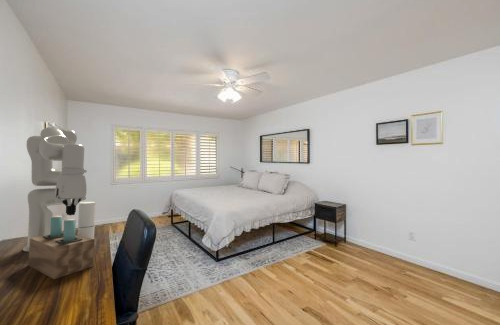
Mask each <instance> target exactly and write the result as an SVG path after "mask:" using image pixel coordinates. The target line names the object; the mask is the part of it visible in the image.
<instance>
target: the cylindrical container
mask: <svg viewBox="0 0 500 325" xmlns="http://www.w3.org/2000/svg"><path fill="white" fill-rule="evenodd" d="M78 204H79V205H78V219H77V220H78V221H77V222H78V225H77V227H78V228H77V234H79V235H82V236H86V237H89V238H93V239H94V240H95V228H96V227H95V224H96V207H97V206H96V201H80V202H79V203H78Z"/></svg>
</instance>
